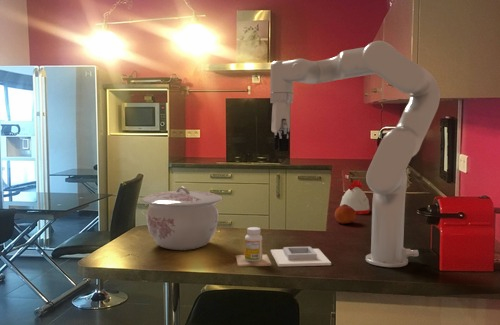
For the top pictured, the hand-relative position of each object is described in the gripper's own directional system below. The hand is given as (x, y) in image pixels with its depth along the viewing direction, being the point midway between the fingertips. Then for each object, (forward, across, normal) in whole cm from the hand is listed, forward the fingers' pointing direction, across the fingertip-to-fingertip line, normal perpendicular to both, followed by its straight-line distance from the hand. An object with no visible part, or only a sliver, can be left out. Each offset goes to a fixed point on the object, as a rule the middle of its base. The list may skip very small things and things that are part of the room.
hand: (280, 149), depth 165 cm
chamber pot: (+34, -5, -33) cm, 47 cm away
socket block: (+33, +14, +4) cm, 36 cm away
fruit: (+34, -36, +34) cm, 60 cm away
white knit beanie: (+34, -62, +46) cm, 84 cm away
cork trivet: (+33, +16, -11) cm, 39 cm away
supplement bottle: (+33, +16, -11) cm, 38 cm away
